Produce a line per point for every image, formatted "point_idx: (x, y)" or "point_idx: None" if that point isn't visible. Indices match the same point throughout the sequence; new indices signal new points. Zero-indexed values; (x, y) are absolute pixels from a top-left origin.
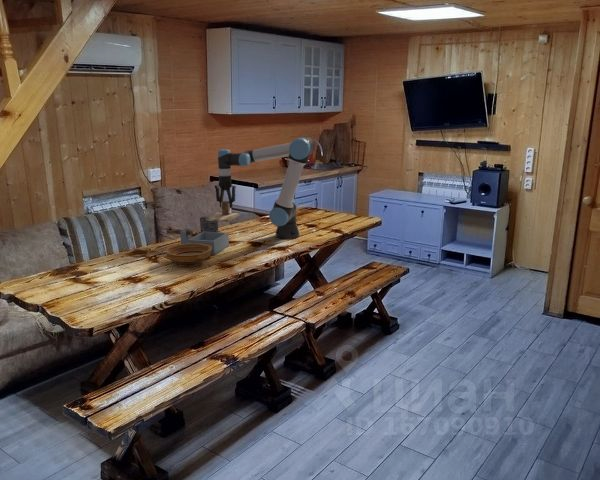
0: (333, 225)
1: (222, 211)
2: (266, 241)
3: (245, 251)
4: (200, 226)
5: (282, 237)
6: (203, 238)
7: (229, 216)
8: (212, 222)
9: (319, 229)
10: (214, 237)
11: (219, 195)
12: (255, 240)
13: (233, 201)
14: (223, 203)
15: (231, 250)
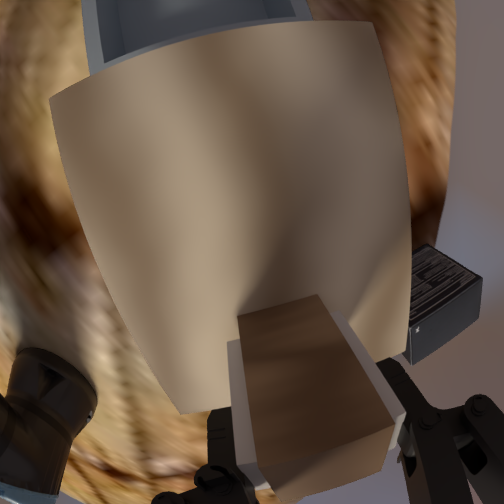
0: (83, 477)
1: (326, 319)
2: (38, 287)
3: (10, 89)
4: (451, 259)
5: (30, 350)
6: (279, 15)
7: (167, 265)
8: (411, 303)
9: (69, 453)
10: None
11: (480, 493)
12: (83, 278)
13: (154, 500)
14: (348, 418)
15: (68, 52)
